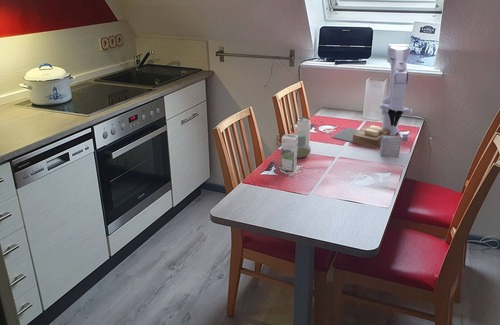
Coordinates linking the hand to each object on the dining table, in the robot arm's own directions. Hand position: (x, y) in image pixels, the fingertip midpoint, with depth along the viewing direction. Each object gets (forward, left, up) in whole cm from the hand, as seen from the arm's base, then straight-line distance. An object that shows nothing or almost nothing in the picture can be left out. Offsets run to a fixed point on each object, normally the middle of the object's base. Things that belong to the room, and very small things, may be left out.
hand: (393, 125), depth 215 cm
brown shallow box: (0, -10, -9) cm, 14 cm away
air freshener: (+39, -29, -10) cm, 50 cm away
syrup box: (+54, -25, -10) cm, 60 cm away
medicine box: (+14, +4, -10) cm, 17 cm away
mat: (0, -22, -9) cm, 24 cm away
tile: (0, -9, -5) cm, 10 cm away
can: (+24, -35, -10) cm, 44 cm away
